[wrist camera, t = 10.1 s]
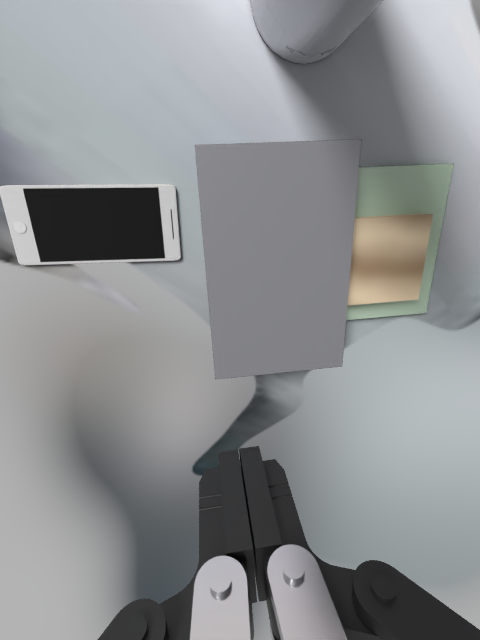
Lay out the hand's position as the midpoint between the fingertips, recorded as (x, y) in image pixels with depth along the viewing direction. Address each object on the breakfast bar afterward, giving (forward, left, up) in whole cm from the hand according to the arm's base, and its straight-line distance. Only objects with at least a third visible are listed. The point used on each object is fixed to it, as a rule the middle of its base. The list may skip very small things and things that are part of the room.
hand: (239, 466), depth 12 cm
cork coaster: (-2, +18, -24) cm, 30 cm away
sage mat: (-3, +19, -24) cm, 31 cm away
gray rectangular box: (-2, +6, -24) cm, 25 cm away
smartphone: (-7, -11, -25) cm, 28 cm away
